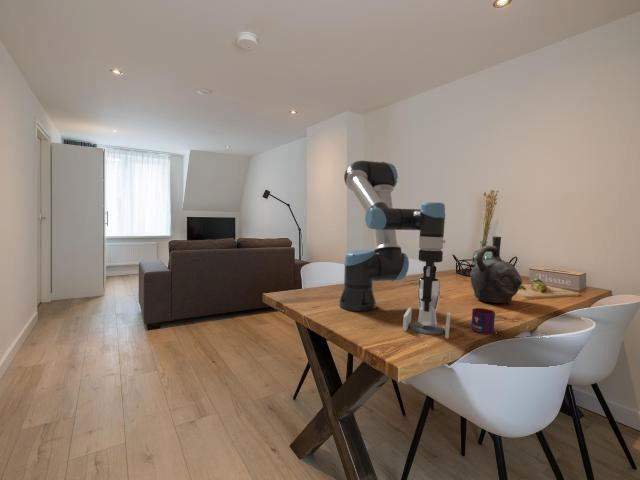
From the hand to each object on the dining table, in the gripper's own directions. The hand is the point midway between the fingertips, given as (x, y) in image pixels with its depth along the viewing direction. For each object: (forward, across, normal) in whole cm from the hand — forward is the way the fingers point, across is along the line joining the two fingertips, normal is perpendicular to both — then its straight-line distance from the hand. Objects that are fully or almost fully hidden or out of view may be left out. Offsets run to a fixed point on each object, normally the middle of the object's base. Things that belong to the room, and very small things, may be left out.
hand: (427, 317), depth 107 cm
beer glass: (+2, 0, 0) cm, 2 cm away
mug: (+4, +8, -18) cm, 21 cm away
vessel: (+4, +54, -23) cm, 59 cm away
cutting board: (+5, +89, -47) cm, 101 cm away
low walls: (+4, 0, 0) cm, 4 cm away
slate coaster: (+4, 0, 0) cm, 4 cm away
